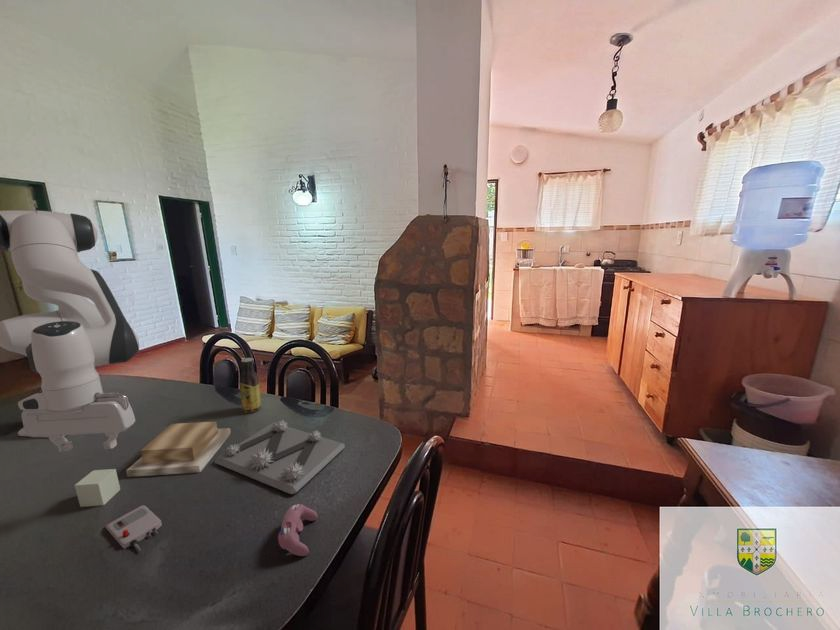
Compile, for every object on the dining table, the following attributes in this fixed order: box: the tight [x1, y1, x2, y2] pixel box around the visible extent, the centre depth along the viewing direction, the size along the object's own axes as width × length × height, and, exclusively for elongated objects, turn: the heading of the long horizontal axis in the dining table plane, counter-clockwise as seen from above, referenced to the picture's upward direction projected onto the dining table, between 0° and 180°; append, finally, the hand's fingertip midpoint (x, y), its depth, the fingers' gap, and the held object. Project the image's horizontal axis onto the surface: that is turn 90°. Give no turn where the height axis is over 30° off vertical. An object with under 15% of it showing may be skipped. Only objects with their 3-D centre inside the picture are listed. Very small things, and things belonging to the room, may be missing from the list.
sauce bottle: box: [238, 357, 262, 414], centre depth 117 cm, size 6×6×20 cm
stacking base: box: [125, 421, 231, 478], centre depth 94 cm, size 18×18×6 cm
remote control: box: [105, 504, 163, 552], centre depth 70 cm, size 7×16×3 cm, turn 60°
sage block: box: [74, 468, 121, 508], centre depth 78 cm, size 5×5×6 cm
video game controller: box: [277, 503, 319, 557], centre depth 68 cm, size 10×5×7 cm, turn 5°
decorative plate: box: [214, 419, 346, 495], centre depth 94 cm, size 30×22×7 cm
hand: (88, 448), depth 75 cm, fingers open, 8 cm apart
